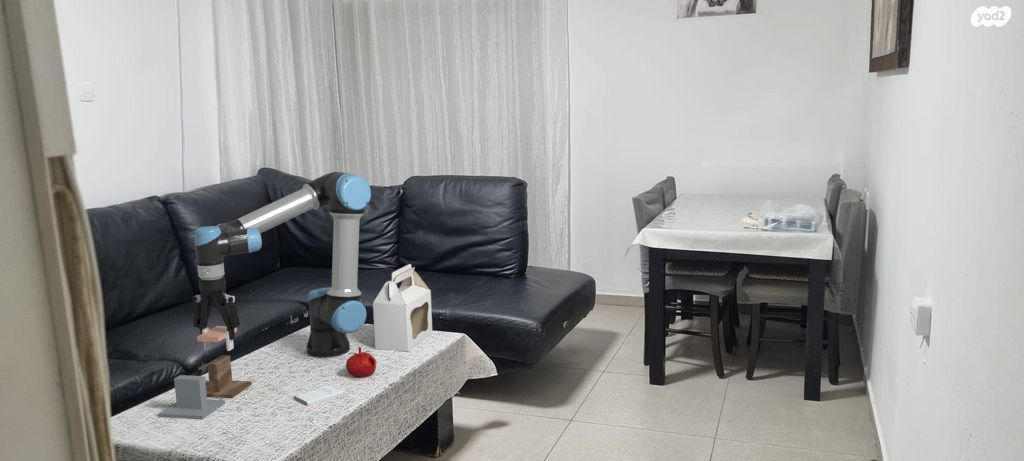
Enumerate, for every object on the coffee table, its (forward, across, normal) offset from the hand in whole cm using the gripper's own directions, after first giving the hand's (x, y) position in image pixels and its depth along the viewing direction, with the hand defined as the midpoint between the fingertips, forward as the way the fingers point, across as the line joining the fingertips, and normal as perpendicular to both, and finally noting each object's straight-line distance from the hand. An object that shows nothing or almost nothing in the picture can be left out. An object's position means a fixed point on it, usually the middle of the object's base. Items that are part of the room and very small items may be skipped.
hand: (219, 349), depth 247 cm
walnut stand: (+13, 0, 0) cm, 13 cm away
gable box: (+15, +42, +55) cm, 70 cm away
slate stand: (+13, 0, -16) cm, 21 cm away
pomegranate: (+14, +39, +19) cm, 45 cm away
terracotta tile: (-4, 0, 0) cm, 4 cm away
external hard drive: (+14, +33, -2) cm, 36 cm away
